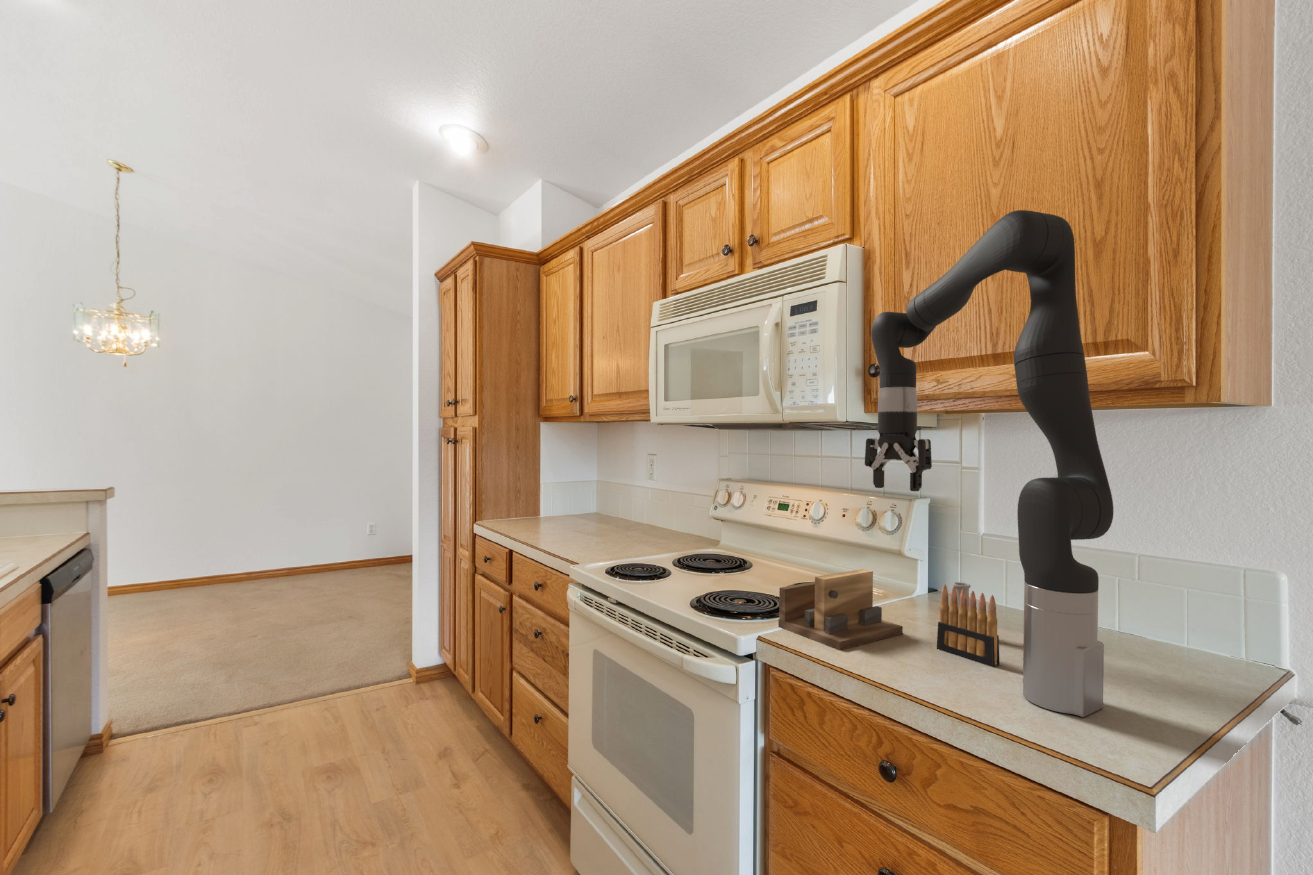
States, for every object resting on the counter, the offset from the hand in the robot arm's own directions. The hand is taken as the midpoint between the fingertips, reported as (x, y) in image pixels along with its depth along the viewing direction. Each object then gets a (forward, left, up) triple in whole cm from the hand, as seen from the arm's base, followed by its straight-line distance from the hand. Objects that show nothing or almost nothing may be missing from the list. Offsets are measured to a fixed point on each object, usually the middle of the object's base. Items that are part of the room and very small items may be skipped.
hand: (896, 489), depth 128 cm
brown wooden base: (+4, +12, -28) cm, 31 cm away
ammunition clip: (-18, +4, -28) cm, 34 cm away
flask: (-10, -7, -28) cm, 31 cm away
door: (+3, +12, -27) cm, 29 cm away
